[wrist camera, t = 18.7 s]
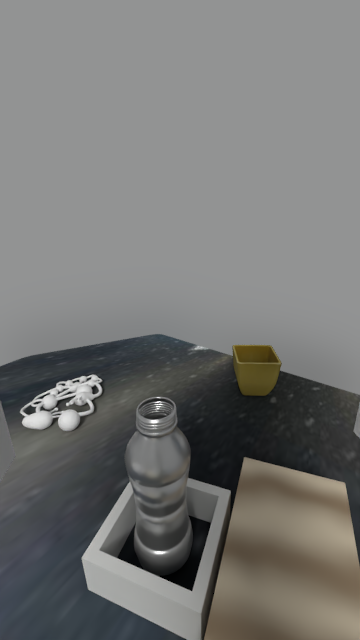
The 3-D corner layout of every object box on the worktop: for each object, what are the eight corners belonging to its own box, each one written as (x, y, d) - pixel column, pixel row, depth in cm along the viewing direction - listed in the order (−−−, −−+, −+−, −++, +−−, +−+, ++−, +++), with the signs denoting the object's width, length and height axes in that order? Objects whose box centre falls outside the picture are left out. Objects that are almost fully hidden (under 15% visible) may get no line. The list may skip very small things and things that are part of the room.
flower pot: (268, 379, 68) (271, 344, 65) (278, 401, 60) (282, 363, 57) (230, 379, 69) (232, 344, 66) (235, 401, 61) (237, 363, 58)
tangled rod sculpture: (61, 383, 72) (57, 368, 71) (116, 381, 70) (113, 365, 69) (8, 436, 54) (2, 418, 53) (81, 436, 52) (76, 416, 50)
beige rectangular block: (242, 490, 41) (244, 457, 39) (337, 518, 37) (345, 483, 35) (192, 735, 22) (191, 695, 20) (379, 852, 18) (402, 816, 16)
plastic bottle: (203, 566, 32) (205, 417, 26) (145, 599, 30) (130, 442, 23) (179, 516, 38) (175, 382, 31) (128, 539, 35) (112, 398, 28)
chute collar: (143, 490, 41) (140, 463, 40) (229, 519, 37) (230, 490, 35) (88, 589, 31) (81, 557, 29) (201, 646, 26) (201, 613, 25)
